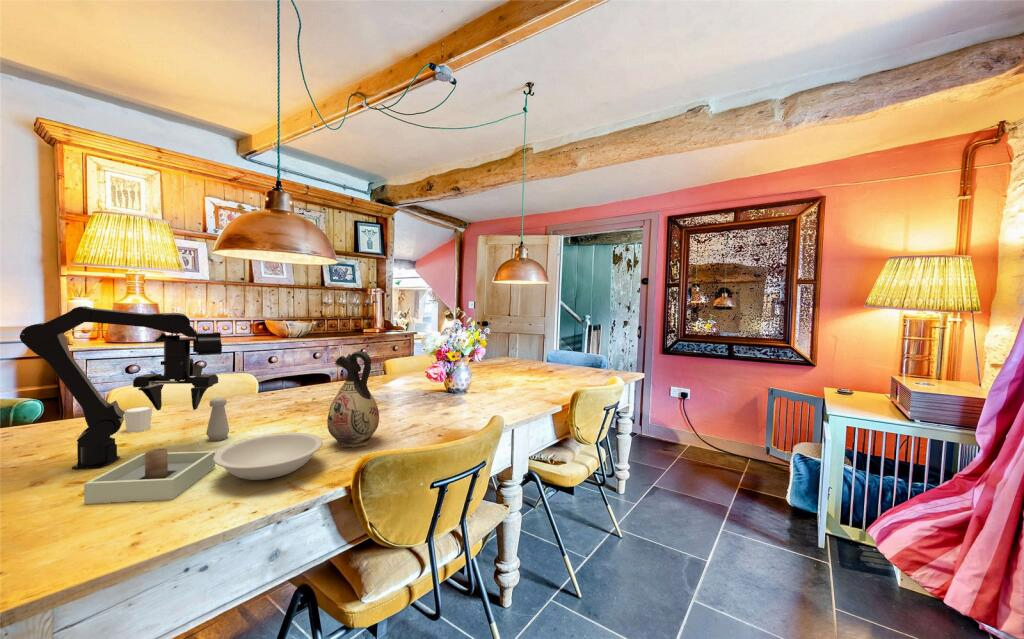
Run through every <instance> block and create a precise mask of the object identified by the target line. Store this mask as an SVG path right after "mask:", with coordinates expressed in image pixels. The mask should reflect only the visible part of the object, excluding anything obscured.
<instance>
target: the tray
mask: <svg viewBox="0 0 1024 639" xmlns="http://www.w3.org/2000/svg"><path fill="white" fill-rule="evenodd" d="M145 453H146V452H145ZM145 453H141V454H139V455H137V456H135V457H133V458H131V459H129V460H127V461H126V462H124V463H122V464H120V465H117V466H115V467H114V468H112V469H110V470H108V471H106V472H104V473H103V474H100V475H98V476H96V477H94V478H92V479H90V480H88V481H87V482H85V483H84V484H83V499H84V500H83V501H84V505H95V504H110V503H111V502H117V503H130V501H136V502H149V501H151V502H153V500H155V501H170V500H171V501H172V500H174V499H176V498H177V497H179V495H181V494H182V493H183V492H185V491H187V490H188V489H189V488H190V487H192V486H193V485H194V484H196V483H197V482H198V481H200V480H201V479H202V478H204V477H205V476H206V475H208V474H209V473H210V472H212V471H213V470H214V469H215V468H216V464H215V462H214V460H213V458H214V455H215V454H216V451H215V450H211V451H210V450H209V451H204V450H203V451H182V452H179V451H178V452H168V477H166V478H165V479H145ZM214 467H215V468H214ZM213 468H214V469H213ZM212 469H213V470H212ZM211 470H212V471H211ZM209 471H210V472H209ZM208 472H209V473H208ZM207 473H208V474H207ZM205 474H206V475H205ZM204 475H205V476H204ZM203 476H204V477H203ZM200 478H201V479H200ZM199 479H200V480H199ZM196 481H197V482H196ZM195 482H196V483H195ZM111 504H112V503H111Z"/></svg>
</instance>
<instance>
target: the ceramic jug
mask: <svg viewBox="0 0 1024 639" xmlns="http://www.w3.org/2000/svg"><path fill="white" fill-rule="evenodd" d="M358 359H361V360H363V365H364V366H363V369H362V368H361V366H360V363H358ZM334 365H336V366H339V367H341V368H342V369H344V370H345V371H346V372H347V376H346V380H345V381H344V383H343V384H342V386H341V387H340V389H338V392H337V393H336V395H335V397H334V398H333V400H332V402H331V403H330V407H329V411H328V412H327V413H328V414H327V419H326V424H327V425H326V426H327V430H328V432H329V434H330V436H332V437H333V438H334V439H335V440H336V442H337V443H338V446H339V445H340V446H339V447H341V446H343V447H342V448H345V447H352V448H358V446H359V447H364V446H367V445H368V444H369V443H370V442H371V437H372V436H373V435H374V434H375V433H376V431H377V429H378V427H379V423H380V411H379V408H378V405H377V402H376V400H375V398H374V396H373V394H372V393H371V391H370V390H369V388H368V380H369V378H370V374H371V371H372V370H371V369H372V360H371V356H370V355H369V354H368V353H367V352H365V351H361V350H359V351H355V352H352V353H348V355H347V356H343V355H341V356H339V357H338V358H337V359H336V361H335V362H334ZM362 370H363V371H362ZM361 371H362V375H361V377H360V372H361ZM366 444H367V445H366ZM363 445H364V446H363Z"/></svg>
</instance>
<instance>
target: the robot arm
mask: <svg viewBox="0 0 1024 639" xmlns="http://www.w3.org/2000/svg"><path fill="white" fill-rule="evenodd" d="M84 323H96V324H105V325H106V324H109V325H117V326H130V327H142V328H147V329H152V330H156V331H161V332H162V333H161V334H160V335H159V336H157V337H156V338H155V339H154V341H155V342H156V343H163V360H162V361H160V366H163V374H161V373H157V374H156V373H145V374H142V375H139V376H136V377H134V378H133V380H132V387H133V388H138V391H142V393H143V394H144V395H145V396H146V398H148V400H149V401H150V402H151V404H152V406H153V407H154V409H155V410H156V411H161V410H162V405H163V404H162V402H163V400H162V390H163V388H164V385H166V384H167V385H169V384H170V385H171V384H172V385H173V384H174V385H177V384H178V385H179V384H184V385H185V384H189V385H190V384H191V385H192V386H193V387H191V388H190V393H191V406H192V410H193V411H195V410H197V409H198V408H199V406H200V402H201V401H202V398H203V396H204V394H205V393H206V391H207V390H208V389H209V388H211V387H213V386H214V385H216V384H219V377H218V375H217V374H216V373H203V374H202V372H203V367H204V366H203V365H200V364H195V363H194V358H191V342H192V352H193V353H196V354H197V356H198V357H199V356H212V355H213V356H215V355H216V356H217V355H222V354H223V343H222V337H221V334H222V333H221V332H218V331H217V332H210V333H209V332H202V333H201V332H199V333H198V332H197V330H196V329H194V328H193V327H192V325H191V320H190V318H189V317H188V316H187V315H186V314H183V313H180V312H166V313H164V312H159V313H144V312H134V311H125V310H116V309H115V310H114V309H107V308H106V309H105V308H95V307H89V306H85V305H84V306H83V305H82V306H77V307H74V308H72V309H71V310H69V311H68V312H65V313H64V314H61V315H59V316H57V317H55V318H53V319H50V320H49V321H46V322H39V323H35V324H30V325H28V326H26V327H25V328H23V329H22V330H21V332H20V333H19V339H20V342H22V343H23V345H24V346H25V347H27V348H28V349H30V351H32V353H34V354H35V355H37V356H39V357H40V358H42V359H43V360H44V361H46V362H47V364H49V366H50V368H51V369H52V370H53V371H54V373H55V374H56V376H58V379H60V380H61V382H62V383H63V384H64V386H65V388H67V390H68V391H69V393H70V394H71V395H72V397H73V398H74V400H75V401H76V402H77V403H78V405H79V406H80V408H81V409H82V412H83V416H84V419H85V423H86V426H87V428H85V429H84V430H83V431H82V432H81V434H80V435H79V437H78V438H77V440H76V443H77V446H76V448H77V451H76V452H77V455H76V456H77V458H76V459H77V463H76V464H75V465H73V466H71V469H72V470H75V469H76V470H77V469H78V470H79V469H98V468H99V469H100V468H103V467H105V466H108V465H110V464H111V463H113V462H115V461H117V460H119V459H121V456H120V455H119V456H118V445H117V443H116V438H115V437H114V438H113V437H111V436H113V435H115V434H116V433H118V432H119V431H120V429H121V427H122V425H123V423H124V422H125V417H124V413H125V412H124V410H123V409H121V407H120V406H119V404H118V401H117V400H114V401H112V402H111V403H110V402H108V401H107V400H106V399H104V398H103V396H101V394H100V393H99V391H98V390H97V389H96V387H95V386H94V384H93V383H92V382H91V380H90V379H89V377H88V376H87V375H86V373H85V372H84V371H83V369H82V367H80V365H79V364H78V362H77V361H76V359H75V358H74V357H73V355H72V354H71V353H70V349H69V345H68V341H67V338H66V336H65V333H67V332H69V331H71V330H72V329H75V328H76V327H78V326H80V325H82V324H84ZM166 333H169V334H172V335H167V334H166ZM180 334H181V335H183V336H185V337H187V338H185V337H184V338H183V337H182V338H181V335H180Z"/></svg>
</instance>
